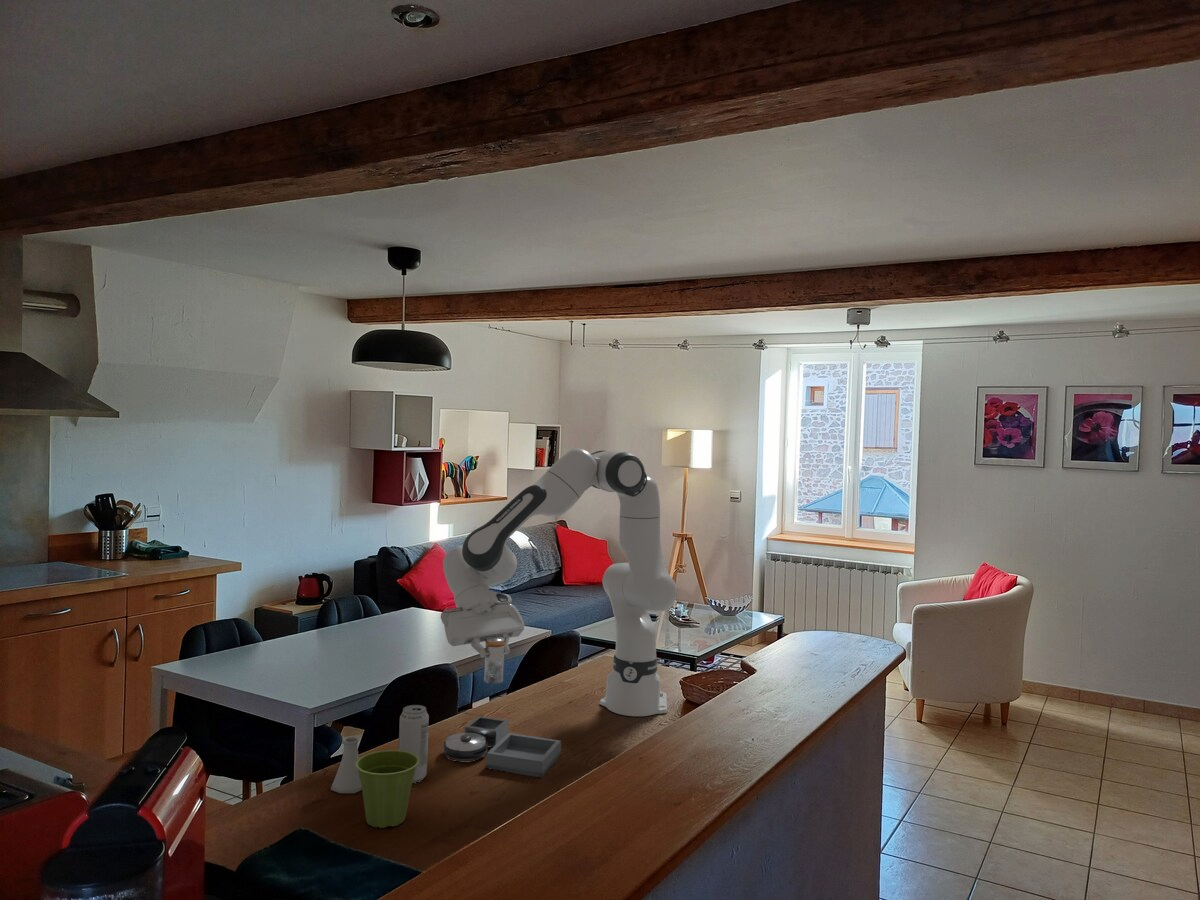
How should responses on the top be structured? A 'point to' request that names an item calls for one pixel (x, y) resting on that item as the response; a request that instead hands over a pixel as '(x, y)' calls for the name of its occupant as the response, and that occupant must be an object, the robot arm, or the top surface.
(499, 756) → the tray
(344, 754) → the flask
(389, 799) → the plant pot
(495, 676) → the glass shaker
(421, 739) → the energy drink can
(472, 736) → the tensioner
